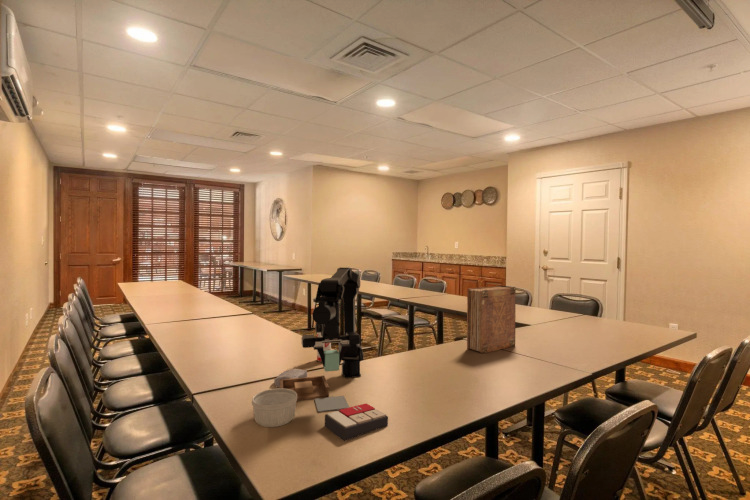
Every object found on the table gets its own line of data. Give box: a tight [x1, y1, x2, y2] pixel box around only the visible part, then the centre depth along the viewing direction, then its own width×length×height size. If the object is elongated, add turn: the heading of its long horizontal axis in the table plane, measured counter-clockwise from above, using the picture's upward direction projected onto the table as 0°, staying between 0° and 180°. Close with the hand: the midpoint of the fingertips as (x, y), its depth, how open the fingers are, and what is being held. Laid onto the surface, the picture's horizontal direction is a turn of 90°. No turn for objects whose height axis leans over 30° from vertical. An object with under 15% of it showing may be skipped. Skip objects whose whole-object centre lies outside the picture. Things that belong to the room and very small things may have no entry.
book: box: [466, 285, 517, 354], centre depth 195 cm, size 25×9×30 cm, turn 123°
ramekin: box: [251, 387, 298, 428], centre depth 117 cm, size 13×13×7 cm
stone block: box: [274, 368, 308, 388], centre depth 149 cm, size 12×5×10 cm
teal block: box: [323, 349, 340, 373], centre depth 127 cm, size 4×4×6 cm
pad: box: [314, 395, 350, 413], centre depth 128 cm, size 10×10×1 cm
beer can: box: [316, 333, 332, 363], centre depth 175 cm, size 6×6×16 cm
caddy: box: [279, 375, 330, 402], centre depth 137 cm, size 16×12×4 cm
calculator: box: [324, 403, 389, 442], centre depth 113 cm, size 11×4×15 cm
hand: (331, 365), depth 127 cm, fingers closed on teal block, 4 cm apart
